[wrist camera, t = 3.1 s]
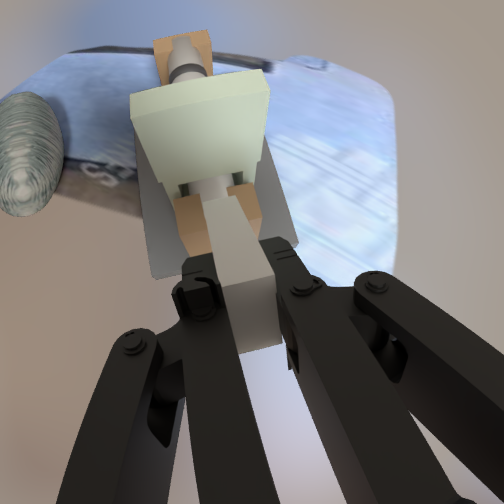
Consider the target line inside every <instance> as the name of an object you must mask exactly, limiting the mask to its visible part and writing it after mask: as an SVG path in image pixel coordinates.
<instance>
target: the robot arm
mask: <svg viewBox="0 0 504 504" xmlns="http://www.w3.org/2000/svg"><path fill="white" fill-rule="evenodd" d="M202 203H203V208H204V213H205V218H206V223H207V228H208V233H209V238H210V243H211V247H212V252H211V253H206V254H202V255H197V256H193V257H189V258H186V260H185V262H184V263H183V265H182V266H181V267H182V281H180V282H178V284H177V285H176V286H175V287H174V288H173V290H172V294H171V295H172V298H173V301H174V303H175V306H176V309H177V312H178V315H179V317H180V320H179V321H178V322H177V323H176V324H175V325H174V326H173V327H171V328H169V329H168V330H166V331H164V332H162V333H159V334H157V335H155V334H154V332H152V331H150V330H149V329H143V328H140V329H133V330H130V331H128V332H126V333H124V334H123V335H121V336H120V337H119V338H118V339H117V340H116V342H115V343H114V345H113V347H112V349H111V351H110V354H109V356H108V359H107V361H106V363H105V366H104V368H103V370H102V373H101V375H100V378H99V380H98V383H97V385H96V388H95V390H94V393H93V395H92V398H91V400H90V403H89V405H88V408H87V411H86V414H85V416H84V419H83V421H82V424H81V427H80V430H79V432H78V435H77V438H76V441H75V444H74V447H73V450H72V453H71V456H70V459H69V462H68V465H67V468H66V471H65V475H64V477H63V481H62V484H61V488H60V491H59V494H58V498H57V501H56V504H167V502H168V496H169V489H170V483H171V477H172V471H173V465H174V459H175V453H176V448H177V442H178V437H179V431H180V425H181V420H182V415H183V409H184V403H185V397H186V405H187V414H188V424H189V432H190V440H191V448H192V455H193V463H194V470H195V476H196V483H197V489H198V495H199V502H200V504H280V501H279V498H278V494H277V491H276V488H275V485H274V481H273V478H272V474H271V471H270V468H269V464H268V461H267V457H266V454H265V451H264V447H263V444H262V440H261V436H260V433H259V430H258V426H257V422H256V419H255V415H254V411H253V408H252V405H251V400H250V397H249V393H248V389H247V385H246V382H245V378H244V374H243V370H242V366H241V363H240V359H239V355H238V354H242V353H246V352H250V351H254V350H259V349H262V348H266V347H270V346H274V345H278V344H282V343H283V342H282V336H283V338H284V340H285V343H286V350H287V360H288V370H291V369H293V371H294V374H295V376H296V379H297V381H298V384H299V386H300V389H301V391H302V394H303V396H304V399H305V401H306V404H307V406H308V409H309V411H310V414H311V416H312V419H313V421H314V424H315V426H316V429H317V431H318V434H319V436H320V439H321V441H322V443H323V446H324V448H325V451H326V453H327V456H328V458H329V460H330V463H331V466H332V468H333V471H334V473H335V476H336V478H337V480H338V483H339V485H340V487H341V490H342V493H343V495H344V498H345V500H346V502H347V504H477V503H475V502H474V501H472V500H469V499H465V498H462V497H461V496H459V495H458V494H457V493H456V491H455V490H454V488H453V487H452V484H451V483H450V481H449V479H448V477H447V476H446V474H445V472H444V470H443V468H442V467H441V465H440V463H439V461H438V460H437V458H436V456H435V455H434V453H433V451H432V450H431V448H430V446H429V444H428V443H427V441H426V439H425V438H424V436H423V434H422V432H421V431H420V429H419V427H418V426H417V424H416V422H415V421H414V419H413V417H412V416H411V414H413V415H414V416H415V417H416V418H417V419H418V420H419V421H420V422H421V423H422V424H423V425H424V426H425V427H426V428H427V429H428V430H429V431H430V432H431V433H432V434H433V435H434V436H435V437H436V438H437V439H438V440H439V441H440V442H441V443H442V444H443V445H444V446H445V447H446V448H447V449H448V450H449V451H450V452H452V453H453V454H454V455H455V456H456V457H457V458H458V459H459V460H460V461H461V462H462V463H463V464H464V465H465V466H466V467H467V468H468V469H469V470H470V471H471V472H472V473H473V474H474V475H475V476H476V477H477V478H478V479H479V480H480V481H481V482H482V483H483V484H485V485H486V486H487V487H488V488H489V489H490V490H491V491H492V492H493V493H494V494H495V495H496V496H497V497H498V498H499V499H500V500H501V501H502V502H504V355H503V354H502V353H500V352H499V351H498V350H496V349H495V348H494V347H492V346H491V345H490V344H489V343H487V342H486V341H484V340H483V339H482V338H481V337H479V336H478V335H476V334H475V333H474V332H472V331H471V330H470V329H468V328H467V327H466V326H464V325H463V324H461V323H460V322H459V321H457V320H456V319H454V318H453V317H452V316H450V315H449V314H448V313H446V312H445V311H443V310H442V309H440V308H439V307H438V306H436V305H435V304H433V303H432V302H430V301H429V300H428V299H426V298H425V297H423V296H422V295H420V294H419V293H417V292H416V291H414V290H413V289H412V288H410V287H409V286H407V285H405V284H404V283H403V282H401V281H400V280H398V279H397V278H395V277H394V276H392V275H390V274H388V273H386V272H381V271H368V272H365V273H362V274H360V275H359V276H358V277H356V279H355V282H354V286H352V287H330V286H327V284H326V283H325V282H324V281H323V280H322V279H321V278H319V277H316V276H314V275H311V274H310V273H309V271H308V270H307V268H306V267H305V265H304V264H303V262H302V261H301V259H300V258H299V256H297V253H296V252H295V250H293V247H292V246H291V244H290V243H289V241H287V240H285V239H283V238H282V237H280V236H277V237H273V238H268V239H264V240H259V241H258V240H257V238H256V236H255V234H254V232H253V230H252V228H251V226H250V224H249V222H248V220H247V218H246V216H245V214H244V212H243V210H242V208H241V206H240V204H239V202H238V200H237V198H236V196H235V195H233V196H229V197H224V198H219V199H215V200H210V201H206V202H202ZM410 413H411V414H410Z"/></svg>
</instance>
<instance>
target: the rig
mask: <svg viewBox="0 0 504 504" xmlns="http://www.w3.org/2000/svg"><path fill="white" fill-rule="evenodd" d="M153 44H154V56H155V60H156V64H157V68H158V72H159V76H160V81H161V85H162V86H165V85H169V84H173V83H178V82H183V81H187V80H192V79H198V78H203V77H209V76H214V75H213V65H212V48H211V41H210V37H209V34H208V31H207V30H201V31H195V32H190V33H184V34H179V35H174V36H169V37H165V38H160V39H156V40H153ZM239 72H241V71H239ZM232 73H234V72H232ZM225 74H227V73H225ZM219 75H221V74H219ZM159 87H160V86H159ZM155 88H156V87H155ZM151 89H152V88H151ZM147 90H148V89H147ZM143 91H144V90H143ZM140 92H141V91H140ZM136 93H137V92H136ZM132 94H133V93H132ZM134 136H135V150H136V162H137V172H138V182H139V191H140V200H141V208H142V216H143V223H144V231H145V237H146V244H147V251H148V257H149V263H150V269H151V275H152V277H153V278H155V279H156V280H158V279H162V278H166V277H171V276H175V275H180V274H182V267H181V266H182V265H183V263H184V262H185V260H186V258H189V257H193V256H197V255H202V254H206V253H211V252H212V247H211V243H210V238H209V233H208V228H207V223H206V218H205V213H204V208H203V203H202V202H206V201H210V200H215V199H219V198H224V197H229V196H233V195H235V196H236V198H237V200H238V202H239V204H240V206H241V208H242V210H243V212H244V214H245V216H246V218H247V220H248V222H249V224H250V226H251V228H252V230H253V232H254V234H255V236H256V238H257V240H258V241H259V240H264V239H268V238H273V237H277V236H280V237H282V238H283V239H285V240H287V241H289V243H290V244H291V246H292V247H293V248H296V246H297V245H298V243H299V242H298V239H297V235H296V232H295V229H294V225H293V222H292V219H291V216H290V212H289V209H288V206H287V203H286V200H285V196H284V193H283V190H282V187H281V184H280V181H279V178H278V174H277V171H276V168H275V165H274V162H273V159H272V156H271V153H270V150H269V147H268V144H267V141H266V138H265V135H264V139H263V146H262V153H261V160H260V161H258V162H257V166H256V174H255V182H254V185H253V182H251V183H246V184H241V185H236V186H235V185H234V181H233V177H232V173H230V174H225V175H221V176H216V177H211V178H207V179H202V180H197V181H193V182H189V183H187V185H188V190H189V195H190V196H186V197H182V198H177V199H173V204H174V208H173V206H172V204H171V202H170V199H169V197H168V195H167V193H166V190H165V188H164V186H163V183H162V182H160V183H158V180H157V178H156V176H155V174H154V172H153V169H152V167H151V165H150V163H149V160H148V158H147V156H146V154H145V151H144V149H143V147H142V144H141V142H140V140H139V137H138V135H137V133H136V130H135V128H134ZM174 209H175V211H174Z"/></svg>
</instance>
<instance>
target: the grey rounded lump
mask: <svg viewBox="0 0 504 504" xmlns="http://www.w3.org/2000/svg"><path fill="white" fill-rule="evenodd" d="M63 157H64V142H63V137H62V132H61V129H60V126H59V123H58V120H57V118H56V116H55V114H54V112H53V110H52V109H51V107H50V106H49V104H48V103H47V102H46V101H45V100H44V99H43V98H42V97H40V96H39V95H37V94H34V93H32V92H22V93H17V94H13V95H11V96H9V97H8V98H6V99H5V100H4V101H3V102H2V103H1V104H0V208H1V209H2V210H3V211H5V212H6V213H8V214H10V215H12V216H17V217H25V216H30V215H33V214H35V213H37V212H38V211H40V210H41V209H42V208H44V207H45V206H46V204H47V203H48V202H49V200H50V199H51V197H52V195H53V193H54V191H55V189H56V187H57V185H58V181H59V178H60V175H61V171H62V167H63Z"/></svg>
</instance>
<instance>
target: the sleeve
mask: <svg viewBox="0 0 504 504" xmlns="http://www.w3.org/2000/svg"><path fill="white" fill-rule="evenodd" d="M269 97H270V89H269V86H268V84H267V81H266V79H265V77H264V74H263V72H262V70H261V69H257V70H249V71H241V72H234V73H227V74H221V75H214V76H209V77H203V78H198V79H192V80H187V81H183V82H178V83H173V84H169V85H165V86H160V87H156V88H152V89H148V90H144V91H141V92H137V93H133V94H130V119H131V121H132V123H133V126H134V128H135V130H136V133H137V135H138V137H139V140H140V142H141V144H142V147H143V149H144V151H145V154H146V156H147V158H148V160H149V163H150V165H151V167H152V169H153V172H154V174H155V176H156V178H157V180H158V183H160V182H162V183H163V186H164V188H165V190H166V193H167V195H168V197H169V199H170V202H171V204H172V206H173V208H174V204H173V199H177V198H182V197H186V196H190V195H189V190H188V185H187V183H189V182H193V181H197V180H202V179H207V178H211V177H216V176H221V175H225V174H230V173H232V177H233V181H234V185H235V186H236V185H241V184H246V183H251V182H253V185H254V182H255V174H256V166H257V162H258V161H260V160H261V153H262V146H263V139H264V132H265V125H266V118H267V111H268V104H269ZM174 211H175V209H174Z"/></svg>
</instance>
